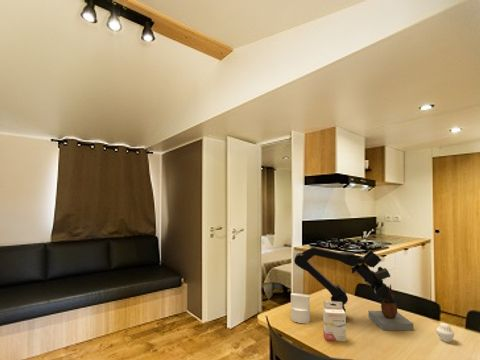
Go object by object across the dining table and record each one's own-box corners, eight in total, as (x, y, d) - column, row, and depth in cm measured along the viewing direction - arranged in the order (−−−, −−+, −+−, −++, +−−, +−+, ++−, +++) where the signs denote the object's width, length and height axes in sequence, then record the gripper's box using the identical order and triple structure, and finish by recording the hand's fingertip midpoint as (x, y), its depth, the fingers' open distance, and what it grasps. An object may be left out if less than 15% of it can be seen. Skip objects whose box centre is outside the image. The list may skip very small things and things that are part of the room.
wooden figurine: (392, 314, 136) (390, 283, 137) (400, 319, 130) (398, 286, 131) (379, 314, 135) (378, 283, 136) (386, 320, 129) (385, 287, 130)
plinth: (382, 330, 126) (382, 323, 126) (368, 316, 140) (368, 310, 140) (413, 330, 126) (413, 323, 126) (396, 316, 140) (396, 310, 140)
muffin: (438, 335, 121) (437, 318, 121) (456, 340, 117) (455, 323, 117) (435, 340, 117) (434, 323, 117) (453, 346, 112) (452, 328, 113)
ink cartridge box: (325, 340, 117) (325, 305, 118) (323, 334, 122) (322, 300, 123) (346, 341, 116) (345, 305, 117) (343, 335, 121) (342, 301, 122)
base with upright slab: (289, 322, 135) (289, 296, 135) (293, 314, 143) (292, 291, 144) (308, 325, 131) (307, 299, 132) (311, 317, 139) (310, 293, 140)
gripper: (383, 267, 126) (411, 294, 123) (374, 258, 144) (399, 281, 141) (365, 283, 128) (392, 310, 124) (359, 273, 146) (382, 296, 142)
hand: (392, 298), depth 133 cm, fingers open, 9 cm apart
